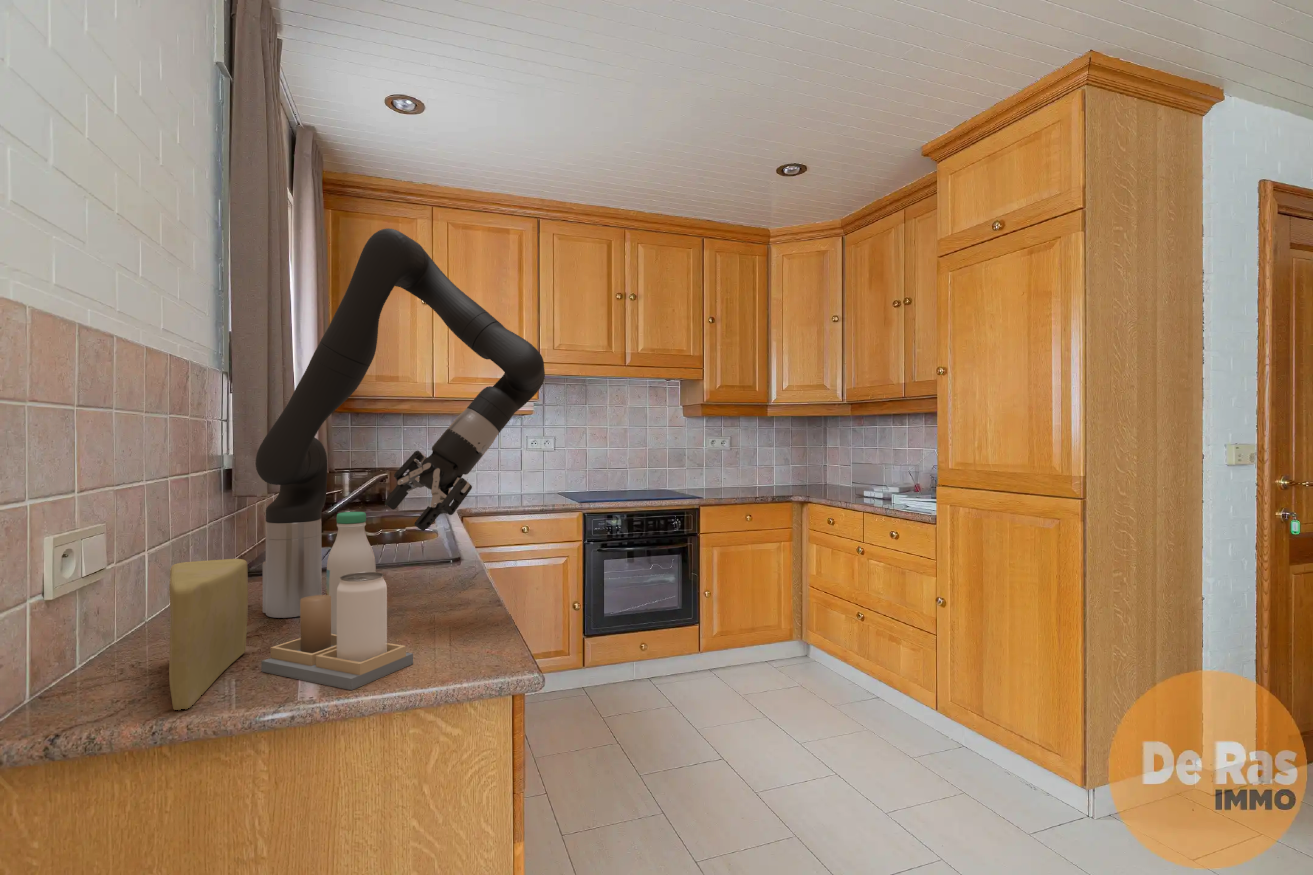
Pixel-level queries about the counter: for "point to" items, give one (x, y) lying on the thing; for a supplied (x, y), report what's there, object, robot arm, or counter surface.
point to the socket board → (328, 653)
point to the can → (361, 616)
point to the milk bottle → (347, 556)
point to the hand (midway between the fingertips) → (403, 517)
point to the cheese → (205, 624)
